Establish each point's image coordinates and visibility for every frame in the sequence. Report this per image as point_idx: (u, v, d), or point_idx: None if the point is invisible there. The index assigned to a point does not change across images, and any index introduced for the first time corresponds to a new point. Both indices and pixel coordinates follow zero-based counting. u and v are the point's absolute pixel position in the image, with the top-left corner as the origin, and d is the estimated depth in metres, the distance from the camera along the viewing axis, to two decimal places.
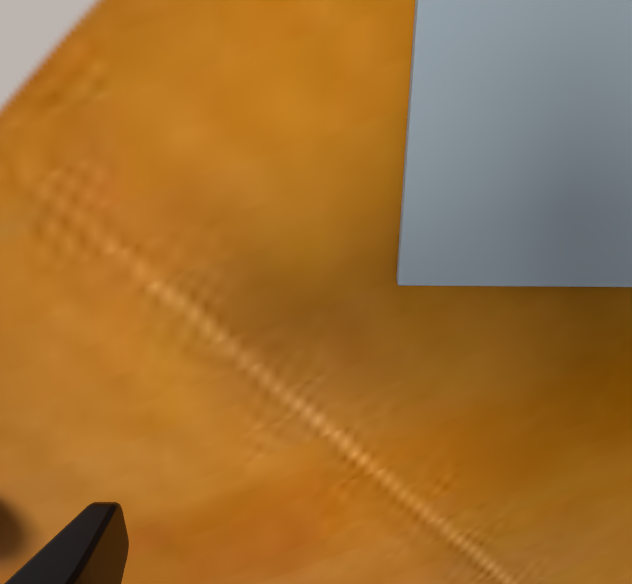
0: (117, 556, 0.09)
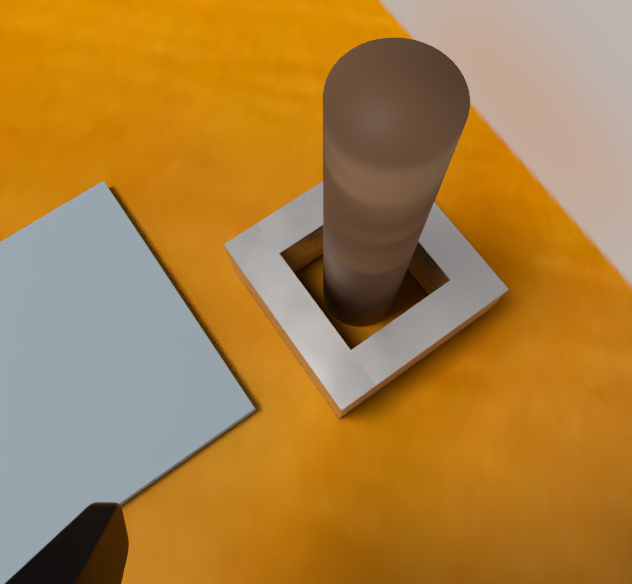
0: (117, 556, 0.09)
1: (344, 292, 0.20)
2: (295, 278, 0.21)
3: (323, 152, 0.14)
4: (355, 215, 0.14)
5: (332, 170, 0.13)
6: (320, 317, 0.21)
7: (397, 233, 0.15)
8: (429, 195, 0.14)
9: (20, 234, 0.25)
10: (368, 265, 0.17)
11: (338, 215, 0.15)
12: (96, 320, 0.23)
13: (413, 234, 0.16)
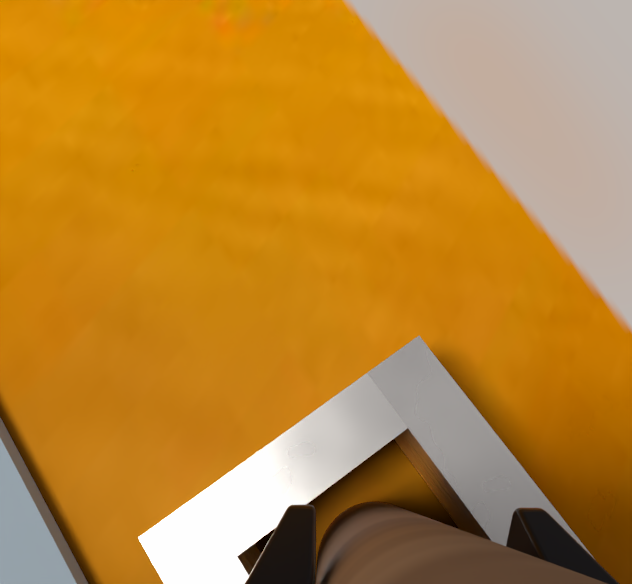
0: (315, 559, 0.09)
1: None
2: None
3: None
4: None
5: None
6: None
7: None
8: None
9: None
10: None
11: None
12: None
13: None
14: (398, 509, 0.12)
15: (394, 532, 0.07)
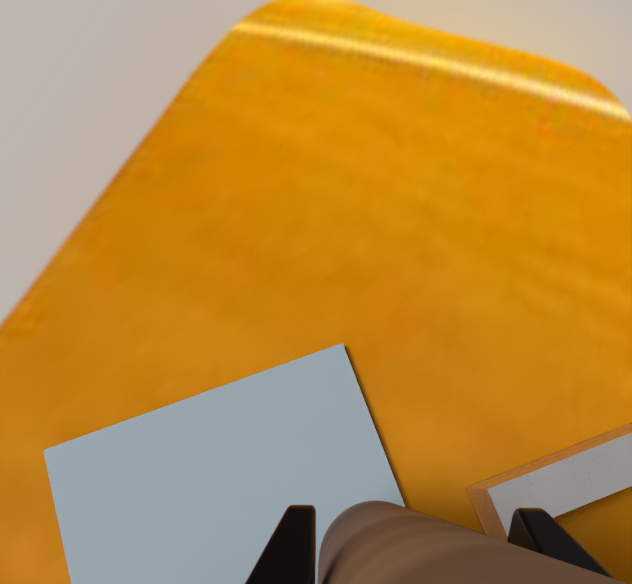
0: (315, 559, 0.09)
1: None
2: None
3: None
4: None
5: None
6: None
7: None
8: None
9: (244, 382, 0.22)
10: None
11: None
12: None
13: None
14: (400, 507, 0.12)
15: (397, 529, 0.07)
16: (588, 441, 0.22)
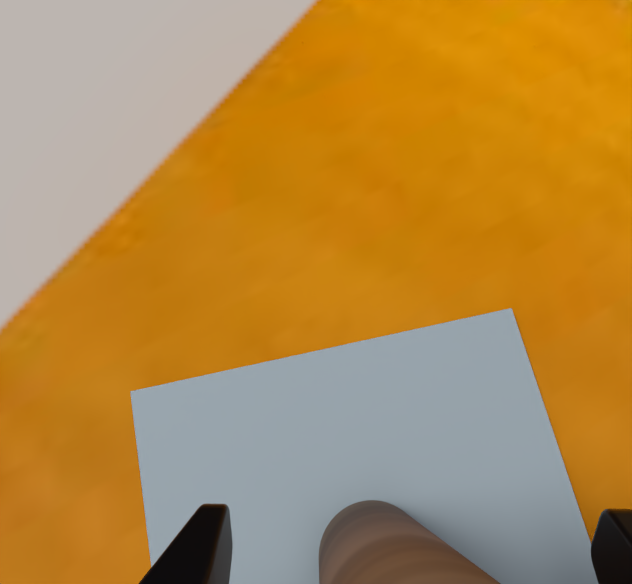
0: (227, 558, 0.09)
1: None
2: None
3: None
4: None
5: None
6: None
7: None
8: None
9: (385, 341, 0.18)
10: None
11: None
12: (460, 511, 0.16)
13: None
14: (395, 517, 0.13)
15: (395, 559, 0.08)
16: None
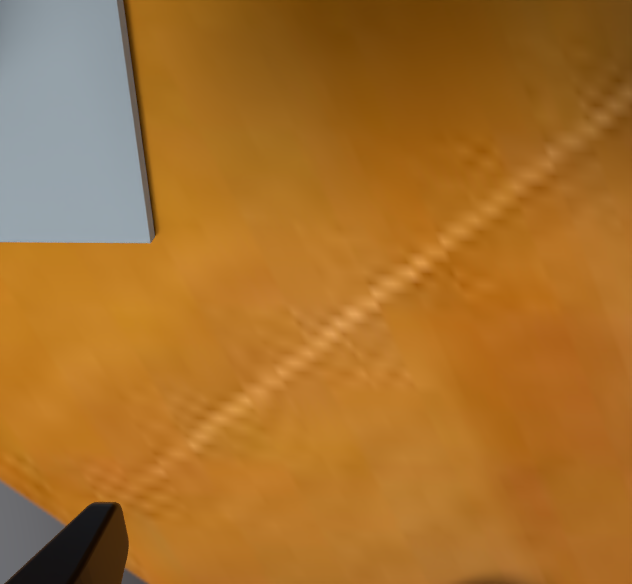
0: (117, 556, 0.09)
1: None
2: None
3: None
4: None
5: None
6: None
7: None
8: None
9: None
10: None
11: None
12: None
13: None
14: None
15: None
16: None
